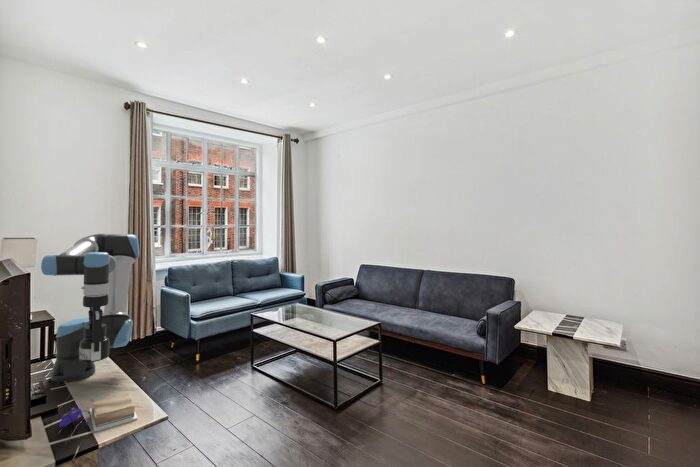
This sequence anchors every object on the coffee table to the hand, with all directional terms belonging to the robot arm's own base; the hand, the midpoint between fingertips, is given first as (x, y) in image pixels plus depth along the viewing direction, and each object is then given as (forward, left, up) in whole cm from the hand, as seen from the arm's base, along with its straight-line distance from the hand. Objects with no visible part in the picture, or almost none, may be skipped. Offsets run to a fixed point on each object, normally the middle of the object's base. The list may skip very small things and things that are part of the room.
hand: (94, 355), depth 129 cm
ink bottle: (0, 0, -1) cm, 1 cm away
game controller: (+13, -6, -18) cm, 23 cm away
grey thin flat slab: (+13, +4, -18) cm, 22 cm away
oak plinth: (+13, +4, -18) cm, 22 cm away
